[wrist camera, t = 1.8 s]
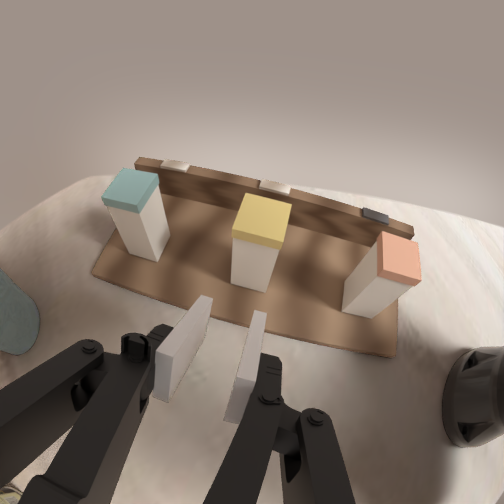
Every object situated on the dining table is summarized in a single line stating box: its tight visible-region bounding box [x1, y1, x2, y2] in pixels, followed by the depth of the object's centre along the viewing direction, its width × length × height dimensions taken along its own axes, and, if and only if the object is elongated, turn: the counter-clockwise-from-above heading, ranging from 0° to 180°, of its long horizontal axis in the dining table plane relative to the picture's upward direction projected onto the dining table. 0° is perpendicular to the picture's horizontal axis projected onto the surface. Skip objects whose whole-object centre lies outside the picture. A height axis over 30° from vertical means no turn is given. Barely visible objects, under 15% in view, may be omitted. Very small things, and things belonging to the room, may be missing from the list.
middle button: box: [231, 193, 292, 293], centre depth 27 cm, size 4×4×10 cm
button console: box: [91, 157, 414, 358], centre depth 31 cm, size 38×16×6 cm, turn 76°
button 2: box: [101, 168, 171, 262], centre depth 28 cm, size 4×4×10 cm
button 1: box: [342, 231, 422, 319], centre depth 27 cm, size 4×4×10 cm
